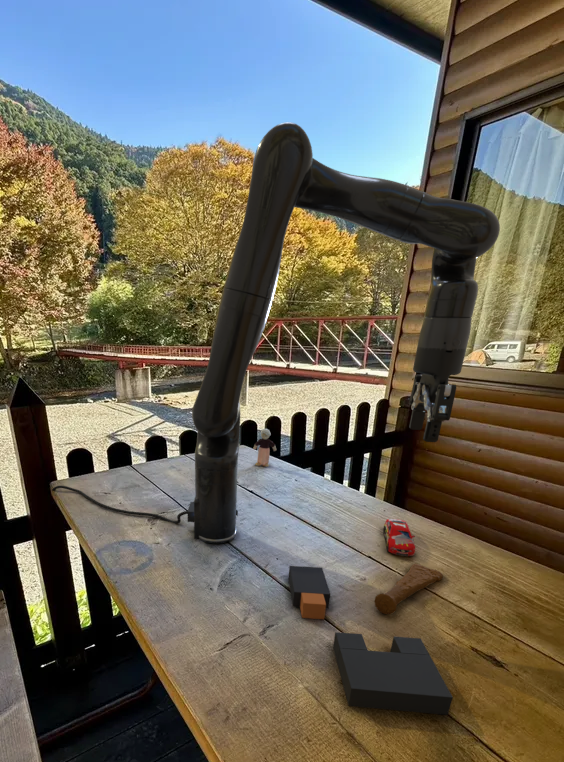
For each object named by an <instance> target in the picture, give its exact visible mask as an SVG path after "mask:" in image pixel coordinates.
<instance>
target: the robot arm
mask: <svg viewBox="0 0 564 762" xmlns="http://www.w3.org/2000/svg"><path fill="white" fill-rule="evenodd" d="M313 156H314V154H313V147H312V143H311V141H310V138H309V136H308V135H307V133H306V131H305V130H304V129H303V127H302V126H300V125H298V124H297V123H295V122H291V121H285V122H281V123H279V124H276V125H275V126H273V127H272V128H270V129H269V130H268V131H267V132H266V134H265V135H263V137H262V138H261V140H260V141H259V144H258V146H257V148H256V150H255V152H254V157H253V163H252V169H251V176H250V183H249V189H248V195H247V201H246V207H245V213H244V217H243V221H242V226H241V229H240V233H239V236H238V239H237V240H236V241H237V242H236V245H235V248H234V251H233V253H232V257H231V261H230V264H229V267H228V270H227V274H226V277H225V281H224V284H223V288H222V292H221V296H220V300H219V305H218V309H217V314H216V319H215V324H214V328H213V334H212V339H211V347H210V351H209V352H210V353H209V358H208V361H207V362H208V363H207V366H206V370H205V373H204V375H203V378H202V381H201V385H200V387H199V390H198V393H197V396H196V398H195V401H194V403H193V405H192V410H191V418H192V422H193V424H194V427H195V429H196V432H197V435H196V436H197V437H196V445H195V451H194V499H193V501H190V503H189V505H188V509H187V510H185V511H181V512H179V513H177V516H176V519H177V520H173V519H169V518H168V517H167V518H166V517H164V516H163V515H159V514H156V513H152V512H143V511H142V512H141V511H130V510H126V509H120V508H115V507H112V506H109V505H106V504H103V503H102V502H100V501H97V500H96V499H94V498H93V497H91V496H89V495H88V494H86V493H84V492H83V491H81V490H79V489H77V488H73V487H70V486H67V485H56V486H54V487H52V489H51V491H52V492H54V491H56V490H59V489H63V490H67V491H68V490H69V491H71V492H75V493H77V494H80V495H81V496H83V497H84V498H85V499H87V500H89V501H90V502H92V503H94V504H95V505H97V506H99V507H102V508H104V509H107V510H110V511H113V512H115V513H116V512H117V513H120V514H126V515H133V516H144V517H145V516H146V517H151V518H156V519H159V520H161V521H165V522H168V523H172V524H174V525H177V524H180V523H181V521H182V520H181V517H182V516H185V515H187V522H188V523H193V539H194V540H199V541H201V542H204V543H206V544H215V545H216V544H217V545H218V544H226V543H229V542H231V541H232V540H234V539H235V538H236V537H237V517H238V516H239V510H237V503H238V502H237V499H238V498H237V497H238V465H239V464H238V463H239V451H240V433H241V403H240V399H241V394H242V389H243V385H244V380H245V377H246V373H247V370H248V369H249V366H250V363H251V360H252V358H253V357H254V354H255V352H256V350H257V347H258V345H259V342H260V340H261V338H262V336H263V332H264V330H265V327H266V325H267V321H268V318H269V314H270V312H271V311H270V310H271V307H272V305H273V301H274V297H275V293H276V290H277V284H278V280H279V275H280V268H281V262H282V257H283V256H282V255H283V249H284V242H285V238H286V234H287V230H288V226H289V223H290V220H291V218H292V215H293V212H294V209H296V208H297V209H301V210H302V209H303V210H307V211H312V212H317V213H321V214H325V215H328V216H331V217H335V218H338V219H341V220H344V221H346V222H349V223H352V224H353V225H356V226H359V227H361V228H364V229H366V230H368V231H372V232H374V233H377V234H379V235H382V236H385V237H387V238H389V239H392V240H395V241H398V242H400V243H403V244H408V245H418V244H419V245H424V246H427V247H429V248H433V250H432V256H431V272H430V273H431V274H430V291H429V295H428V298H427V299H428V300H427V302H426V303H427V304H426V308H425V309H426V310H425V314H424V318H423V323H422V326H421V328H420V331H419V336H418V342H417V346H416V352H415V357H414V362H413V367H412V370H413V373H416V374H415V375H414V377H413V378H414V379H413V384H412V388H411V392H410V398H409V401H408V403H409V404H408V405H410V409H411V410H412V411H411V415H410V420H409V425H408V428H409V429H410V430H411V431H421V430H422V429H423V426H424V421H425V417H426V416H427V420H426V425H425V427H424V428H425V429H424V433H423V437H422V440H423V441H424V442H426V443H437V442H438V441H439V438H440V437H439V436H440V433H441V429H442V423H444V422H446V421H450V420H451V415H452V411H453V405H454V401H455V396H456V391H457V384H450V383H449V378H450V377H451V376H458V375H459V374H461V372H462V369H463V365H464V362H465V361H464V360H465V357H466V352H467V348H468V345H469V339H470V335H471V331H472V320H473V316H474V315H473V314H474V311H475V307H476V303H477V298H478V294H479V285H478V282H477V281H476V280H475V272H476V271H475V270H476V265H477V258H480V257H481V256H483V255H484V254H487V252H488V251H490V250H491V249H492V247H494V245H495V244H496V242H497V240H498V239H499V236H500V232H501V231H500V230H501V226H500V221H499V219H498V216H497V214H495V213H494V212H493V211H492V210H491V209H489V208H487V207H485V206H482V205H481V204H476V203H472V202H468V201H463V200H457V199H452V198H444V197H438V196H434V195H432V194H430V193H429V192H426V191H424V190H421V189H418V188H415V187H413V186H410V185H407V184H404V183H401V182H398V181H395V180H391V179H385V178H380V177H371V176H364V175H363V176H362V175H355V174H351V173H346V172H342V171H339V170H337V169H334V168H331V167H330V166H327V165H326V164H323V163H322V162H320V161H319V160H317V159H315V158H314V157H313ZM426 412H427V413H426ZM426 414H427V415H426Z"/></svg>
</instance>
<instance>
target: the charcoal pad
mask: <svg viewBox="0 0 564 762" xmlns="http://www.w3.org/2000/svg"><path fill="white" fill-rule="evenodd" d="M288 584H289V592H290V598H291V604H292V607H297V608H299V609H300V615H301V618H302V619H310V620H311V619H313V620H325V618H326V617H325V616H326V610H327V609H328V610H329V608H330V601H331V591H330V588H329V585H328V581H327V579H326V575H325V571H324V568H323V567H320V566H319V567H317V566H302V565H301V566H300V565H289V567H288Z"/></svg>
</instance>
